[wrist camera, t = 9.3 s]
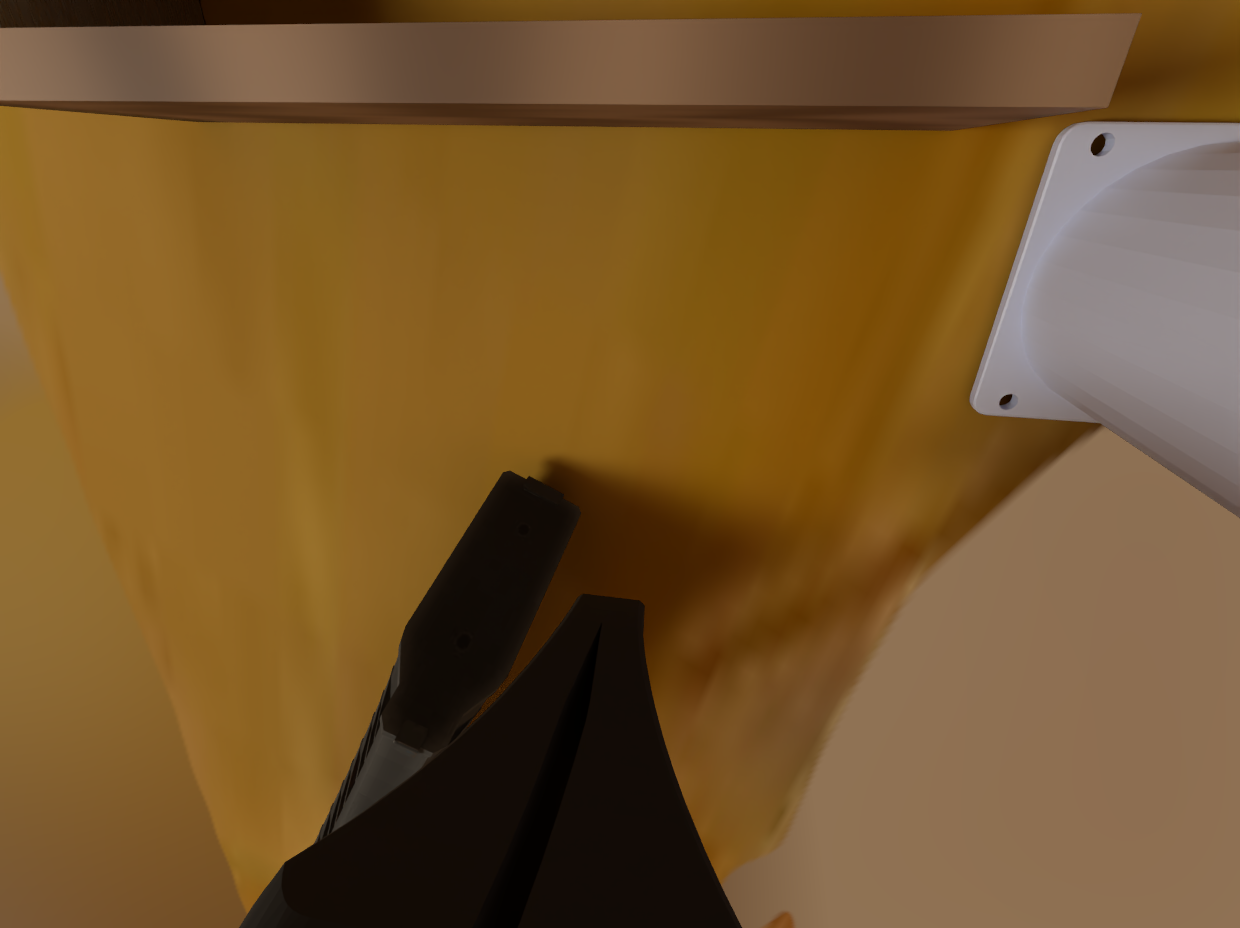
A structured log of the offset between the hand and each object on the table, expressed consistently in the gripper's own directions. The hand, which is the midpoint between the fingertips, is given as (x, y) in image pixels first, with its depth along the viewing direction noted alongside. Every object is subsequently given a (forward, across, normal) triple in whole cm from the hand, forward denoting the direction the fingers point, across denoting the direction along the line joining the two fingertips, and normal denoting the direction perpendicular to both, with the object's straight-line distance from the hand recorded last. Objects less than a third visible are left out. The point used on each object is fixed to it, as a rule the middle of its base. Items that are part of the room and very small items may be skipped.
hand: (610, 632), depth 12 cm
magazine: (+10, +11, +16) cm, 22 cm away
